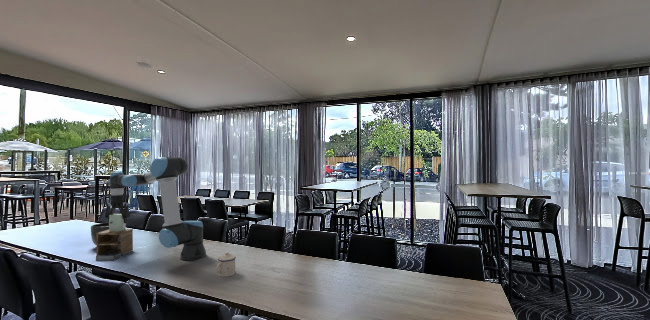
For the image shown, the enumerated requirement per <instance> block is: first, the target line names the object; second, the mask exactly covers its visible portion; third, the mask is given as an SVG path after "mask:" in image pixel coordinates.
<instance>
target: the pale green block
mask: <svg viewBox="0 0 650 320" xmlns="http://www.w3.org/2000/svg"><path fill="white" fill-rule="evenodd" d="M122 218H123V217H122V214H121V213H113V214H112V215H109V228H110V231H124V230H125V229H126V228H123V229H122Z"/></svg>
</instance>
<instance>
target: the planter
mask: <svg viewBox="0 0 650 320" xmlns="http://www.w3.org/2000/svg"><path fill="white" fill-rule="evenodd" d="M108 229H109V223H108V221H107V222H101V223H95V224H93V225H90V236H91V241H92V243H93V244H94V245H95V246H97V245H96V233H99V232H102V231H105V230H108Z"/></svg>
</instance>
